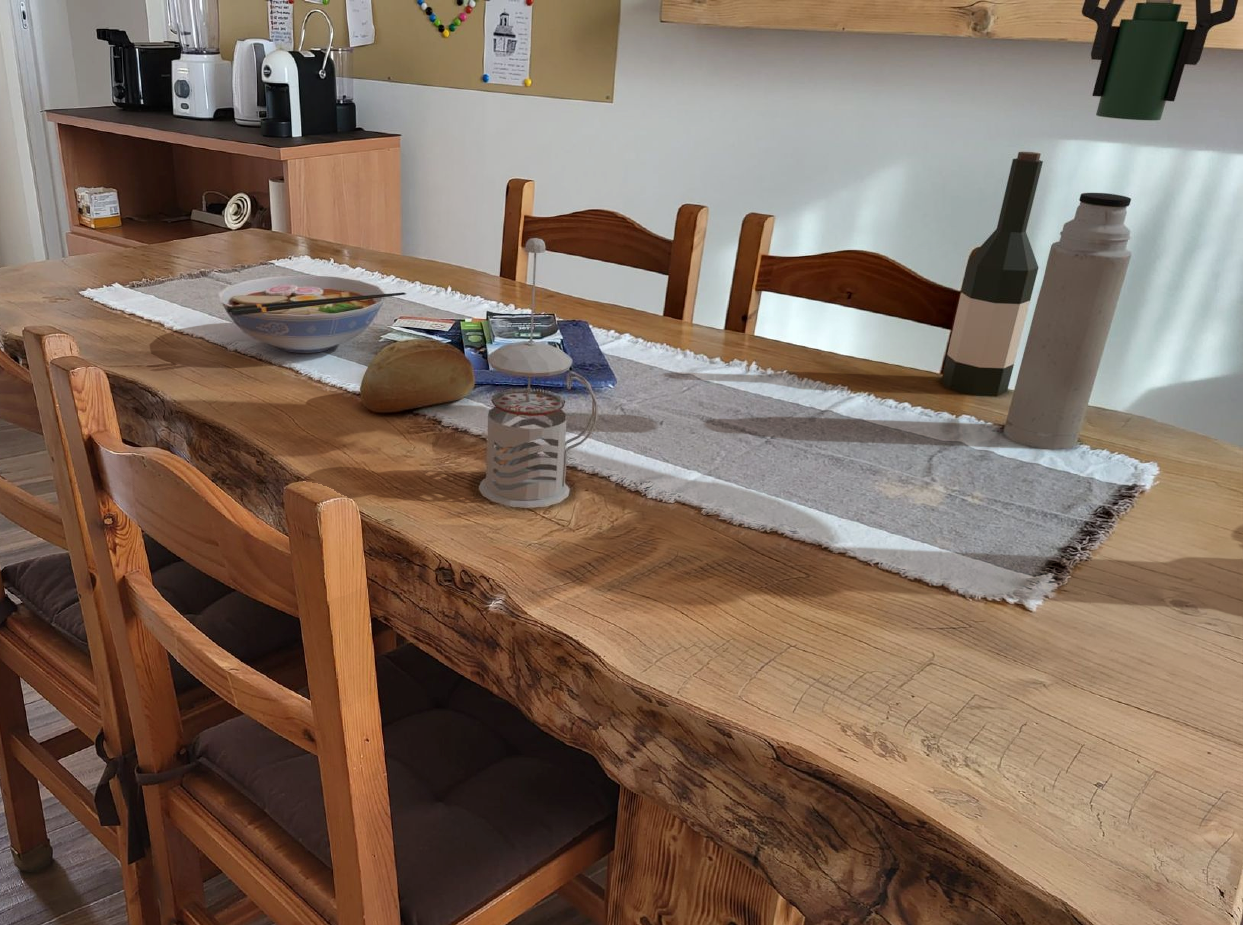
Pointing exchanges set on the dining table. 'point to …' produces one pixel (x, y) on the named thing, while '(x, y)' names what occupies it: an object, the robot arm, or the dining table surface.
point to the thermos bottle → (1071, 324)
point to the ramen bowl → (303, 310)
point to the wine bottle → (996, 293)
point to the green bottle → (1143, 62)
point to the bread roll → (416, 376)
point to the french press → (529, 423)
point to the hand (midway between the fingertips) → (1133, 97)
